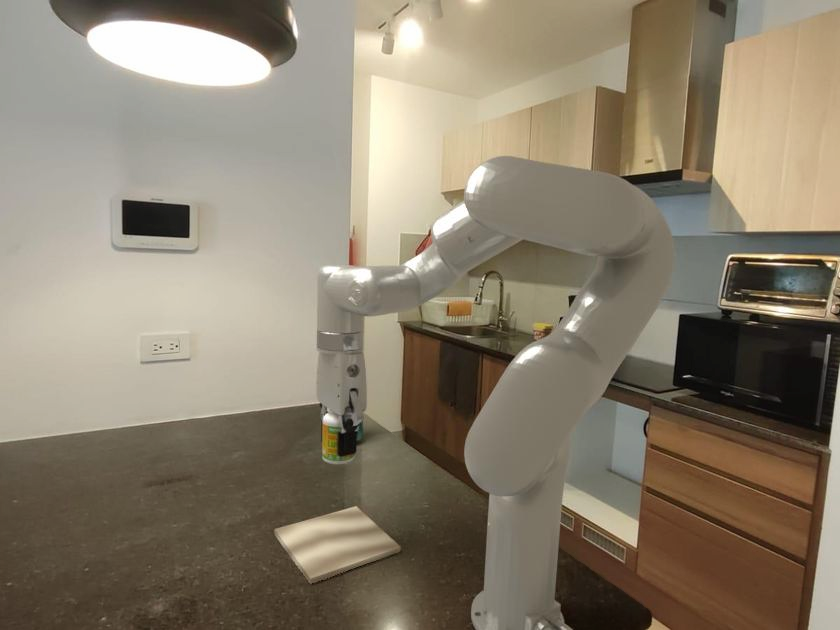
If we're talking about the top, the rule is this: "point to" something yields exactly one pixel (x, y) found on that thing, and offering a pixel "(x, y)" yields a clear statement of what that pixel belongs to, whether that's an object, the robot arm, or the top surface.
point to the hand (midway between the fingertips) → (338, 447)
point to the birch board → (335, 543)
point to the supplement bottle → (333, 438)
